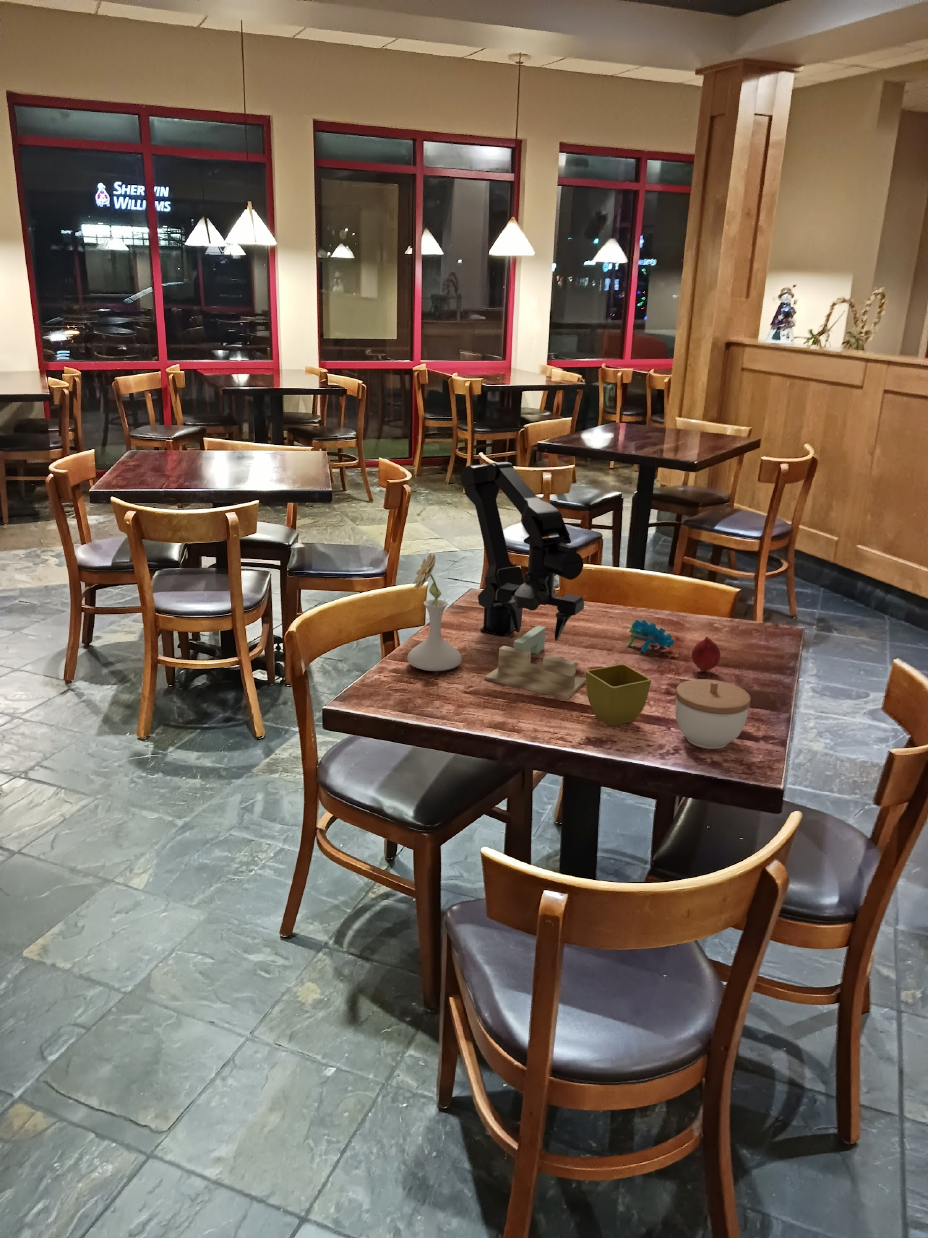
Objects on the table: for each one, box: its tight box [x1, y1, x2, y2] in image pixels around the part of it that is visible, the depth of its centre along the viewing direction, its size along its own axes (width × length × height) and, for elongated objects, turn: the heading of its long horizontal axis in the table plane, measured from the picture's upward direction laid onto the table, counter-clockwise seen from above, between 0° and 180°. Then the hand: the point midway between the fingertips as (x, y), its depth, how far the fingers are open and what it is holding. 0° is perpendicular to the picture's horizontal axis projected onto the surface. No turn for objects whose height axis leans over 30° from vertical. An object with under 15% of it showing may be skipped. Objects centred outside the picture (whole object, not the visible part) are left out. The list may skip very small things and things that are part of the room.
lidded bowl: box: [674, 678, 752, 750], centre depth 161 cm, size 13×13×11 cm
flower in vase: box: [406, 552, 463, 672], centre depth 187 cm, size 13×11×25 cm
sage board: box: [513, 625, 547, 655], centre depth 198 cm, size 2×12×5 cm, turn 151°
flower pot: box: [585, 663, 652, 727], centre depth 168 cm, size 9×9×9 cm
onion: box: [690, 634, 721, 673], centre depth 192 cm, size 6×6×8 cm
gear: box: [627, 619, 675, 654], centre depth 204 cm, size 11×6×10 cm
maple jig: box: [484, 645, 586, 700], centre depth 185 cm, size 18×10×6 cm, turn 61°
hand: (537, 636), depth 201 cm, fingers open, 9 cm apart
